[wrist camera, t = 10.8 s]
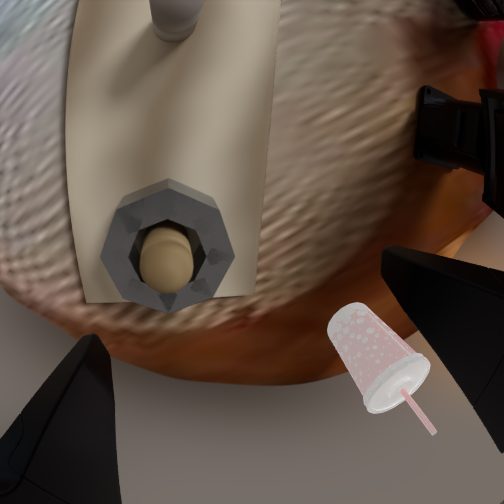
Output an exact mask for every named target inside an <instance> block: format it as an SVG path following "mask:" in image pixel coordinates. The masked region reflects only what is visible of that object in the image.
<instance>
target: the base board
mask: <svg viewBox="0 0 504 504" xmlns="http://www.w3.org/2000/svg"><path fill="white" fill-rule="evenodd" d="M280 5H281V0H79V3H78V8H77V13H76V18H75V24H74V29H73V36H72V42H71V50H70V58H69V68H68V79H67V94H66V126H65V135H66V168H67V183H68V195H69V205H70V214H71V222H72V229H73V236H74V243H75V249H76V255H77V260H78V266H79V271H80V276H81V281H82V285H83V290H84V294H85V298H86V303H112V302H131V301H128V300H125V299H123V298H122V296H121V294H120V293H119V291H118V289H117V287H116V286H115V284H114V282H113V280H112V279H111V277H110V275H109V273H108V271H107V270H106V268H105V266H104V264H103V262H102V260H101V259H100V255H101V252H102V249H103V246H104V243H105V240H106V237H107V234H108V231H109V228H110V225H111V223H112V220H113V217H114V215H115V212H116V209H117V207H118V205H119V203H120V201H121V200H122V198H123V196H125V195H128V194H130V193H132V192H135V191H137V190H140V189H142V188H144V187H147V186H149V185H152V184H154V183H157V182H159V181H162V180H165V179H167V178H170V179H172V180H175V181H177V182H179V183H182V184H184V185H186V186H188V187H191V188H193V189H195V190H197V191H200V192H202V193H204V194H206V195H209V196H211V197H213V199H214V200H215V202H216V204H217V206H218V208H219V210H220V213H221V216H222V219H223V222H224V225H225V228H226V230H227V233H228V236H229V239H230V242H231V245H232V248H233V251H234V254H235V258H234V260H233V262H232V264H231V265H230V267H229V269H228V271H227V273H226V274H225V276H224V278H223V280H222V282H221V284H220V285H219V287H218V289H217V291H216V293H215V295H214V296H213V297H227V296H240V295H253V294H254V293H255V283H256V273H257V262H258V252H259V242H260V231H261V221H262V210H263V199H264V189H265V178H266V167H267V156H268V145H269V134H270V123H271V111H272V100H273V88H274V77H275V65H276V54H277V42H278V30H279V18H280ZM134 243H135V245H136V248H137V250H138V252H139V254H140V256H141V257H140V273H141V276H142V278H143V280H144V282H145V283H146V284H147V285H148V286H149V287H150V288H151V289H153V290H155V291H157V292H160V293H173V292H176V291H179V290H180V289H182V288H183V287H184V286H185V285H186V284H187V283H188V282H189V280H190V278H191V276H192V273H193V258H192V257H193V255H194V253H195V251H196V249H197V247H198V245H199V243H200V239H199V236H198V233H197V231H196V230H194V229H191V228H189V227H186V226H184V225H182V224H179V223H177V222H174V221H172V220H169V219H166V220H163V221H161V222H158V223H156V224H153V225H151V226H148V227H146V228H143V229H141V230H138V233H137V235H136V238H135V240H134ZM213 297H212V298H213Z"/></svg>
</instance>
